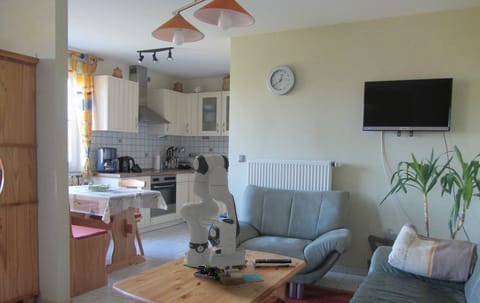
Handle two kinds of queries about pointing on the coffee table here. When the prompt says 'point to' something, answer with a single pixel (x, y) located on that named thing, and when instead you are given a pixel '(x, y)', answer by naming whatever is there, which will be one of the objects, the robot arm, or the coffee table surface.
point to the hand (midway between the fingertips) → (227, 273)
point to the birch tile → (235, 273)
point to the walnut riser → (229, 279)
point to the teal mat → (251, 277)
